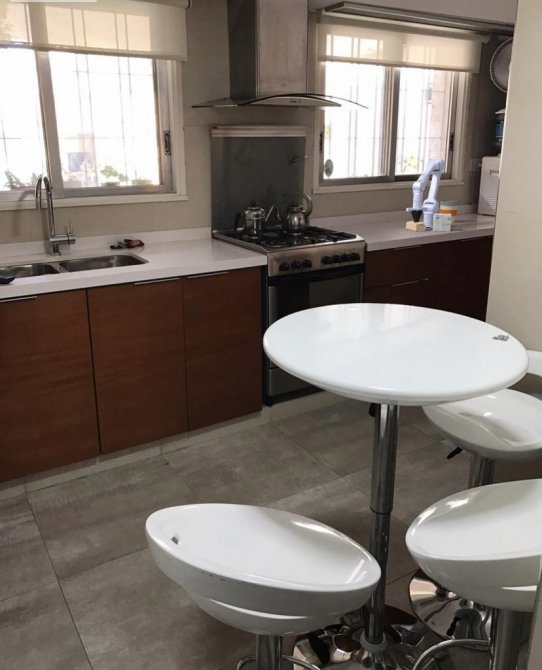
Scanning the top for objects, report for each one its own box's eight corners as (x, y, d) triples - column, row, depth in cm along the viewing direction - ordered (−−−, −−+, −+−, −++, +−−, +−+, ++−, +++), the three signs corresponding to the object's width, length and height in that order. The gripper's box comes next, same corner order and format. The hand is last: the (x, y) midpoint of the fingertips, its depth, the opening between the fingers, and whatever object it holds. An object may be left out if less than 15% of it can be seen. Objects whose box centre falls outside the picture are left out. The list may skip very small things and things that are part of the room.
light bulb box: (448, 230, 389) (450, 213, 385) (450, 231, 382) (452, 214, 379) (432, 229, 390) (433, 213, 386) (433, 231, 383) (435, 214, 380)
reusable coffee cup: (447, 224, 416) (449, 202, 411) (434, 222, 426) (436, 200, 422) (460, 222, 422) (462, 201, 417) (447, 220, 432) (449, 199, 428)
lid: (406, 222, 392) (406, 222, 391) (415, 221, 393) (415, 220, 393) (416, 225, 380) (416, 224, 380) (425, 223, 381) (425, 222, 381)
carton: (405, 229, 393) (406, 222, 392) (415, 228, 395) (415, 222, 394) (415, 231, 381) (416, 225, 380) (425, 231, 383) (426, 225, 382)
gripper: (410, 201, 377) (409, 223, 381) (431, 201, 380) (429, 222, 385) (405, 200, 383) (403, 222, 387) (425, 200, 387) (423, 221, 391)
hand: (416, 222), depth 386 cm, fingers closed
